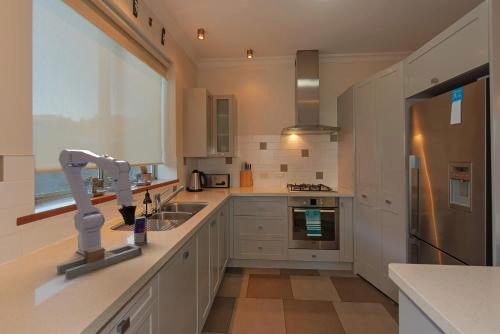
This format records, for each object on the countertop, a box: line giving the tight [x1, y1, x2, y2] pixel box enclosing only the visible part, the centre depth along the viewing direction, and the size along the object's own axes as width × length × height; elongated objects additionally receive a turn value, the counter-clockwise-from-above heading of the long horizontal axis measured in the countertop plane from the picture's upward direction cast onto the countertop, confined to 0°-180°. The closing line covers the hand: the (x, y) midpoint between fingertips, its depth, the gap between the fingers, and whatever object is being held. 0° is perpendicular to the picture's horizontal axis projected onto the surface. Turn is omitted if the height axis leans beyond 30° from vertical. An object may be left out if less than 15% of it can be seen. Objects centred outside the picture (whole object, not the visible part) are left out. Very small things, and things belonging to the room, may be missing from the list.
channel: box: [56, 243, 143, 280], centre depth 95 cm, size 9×26×2 cm, turn 145°
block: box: [83, 246, 115, 264], centre depth 94 cm, size 4×9×6 cm, turn 145°
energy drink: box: [133, 215, 148, 246], centre depth 116 cm, size 5×5×12 cm
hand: (130, 224), depth 99 cm, fingers open, 7 cm apart
